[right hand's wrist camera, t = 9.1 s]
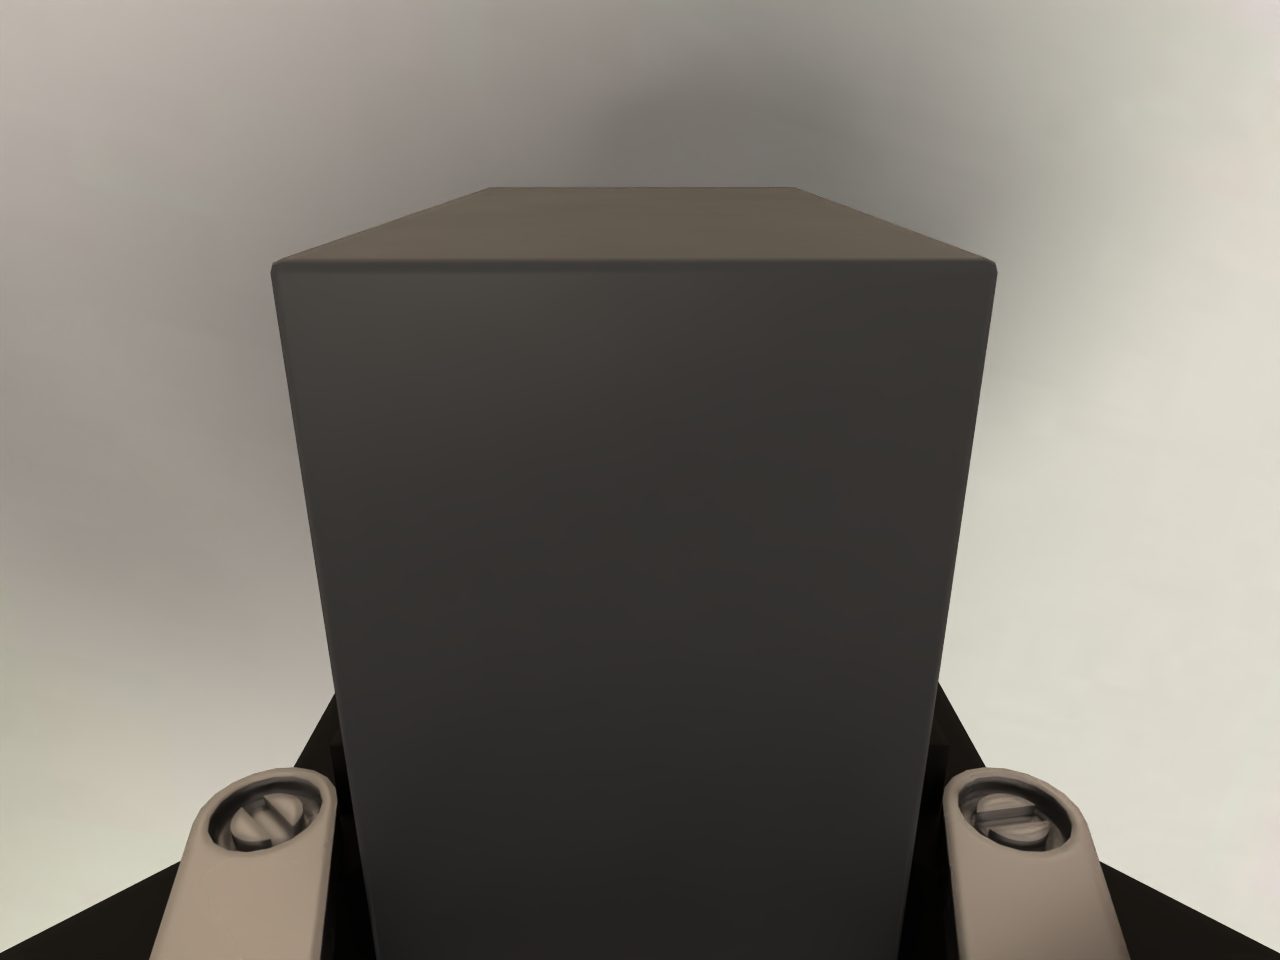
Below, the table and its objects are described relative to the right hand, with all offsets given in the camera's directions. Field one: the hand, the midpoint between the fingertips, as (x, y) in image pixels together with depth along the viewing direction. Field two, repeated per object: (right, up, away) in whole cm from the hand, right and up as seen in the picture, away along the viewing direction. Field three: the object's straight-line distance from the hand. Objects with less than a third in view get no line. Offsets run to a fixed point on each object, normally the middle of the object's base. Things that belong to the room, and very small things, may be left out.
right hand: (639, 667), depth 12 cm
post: (0, -28, +14) cm, 31 cm away
